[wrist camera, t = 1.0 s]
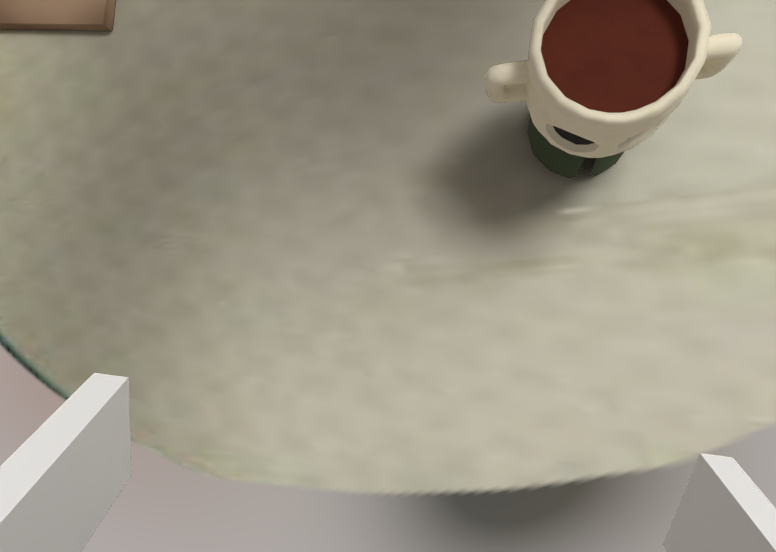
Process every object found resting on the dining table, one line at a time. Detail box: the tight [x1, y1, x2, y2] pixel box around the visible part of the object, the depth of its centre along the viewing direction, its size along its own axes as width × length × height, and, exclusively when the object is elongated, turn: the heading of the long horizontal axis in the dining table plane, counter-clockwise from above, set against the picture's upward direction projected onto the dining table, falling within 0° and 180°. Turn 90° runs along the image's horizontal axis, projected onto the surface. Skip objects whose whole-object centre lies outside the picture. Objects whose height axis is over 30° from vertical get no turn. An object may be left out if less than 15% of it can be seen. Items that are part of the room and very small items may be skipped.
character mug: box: [485, 0, 742, 178], centre depth 29 cm, size 11×7×13 cm, turn 93°
